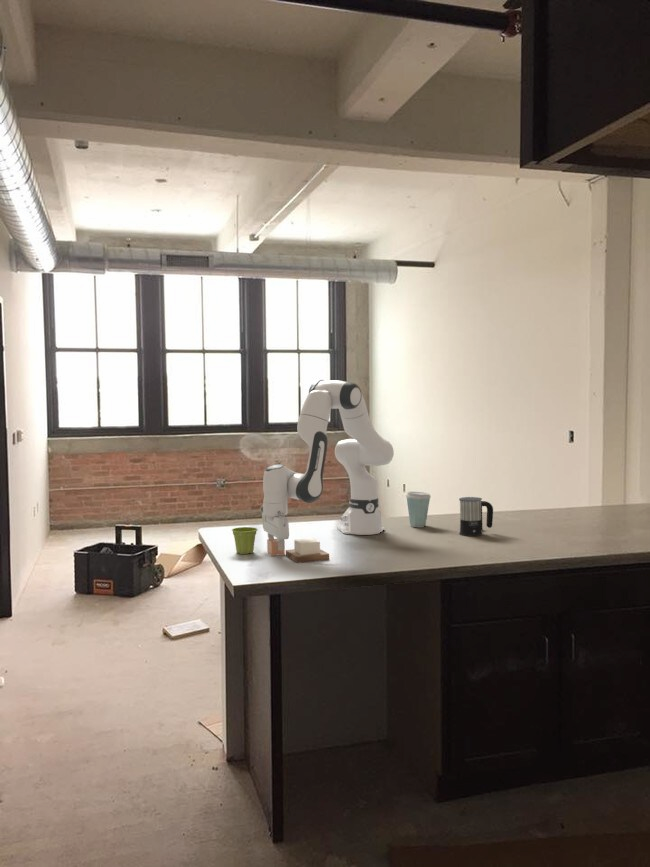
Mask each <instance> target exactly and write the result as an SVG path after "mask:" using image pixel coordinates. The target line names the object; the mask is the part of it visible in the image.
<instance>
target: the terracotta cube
mask: <svg viewBox="0 0 650 867" xmlns="http://www.w3.org/2000/svg"><path fill="white" fill-rule="evenodd" d="M266 542H267V543H266V544H267V545H266V546H267V548H266V549H267V550H266V551H267V552H268V553H267V554H269V555H270V554H271V555H270V556H278V555H277V554H282V555H286V550H285V547H286V546H285V545H286V543H285V540H284V544H283V550H278V549H277V545H278V538H274V539H267V540H266Z"/></svg>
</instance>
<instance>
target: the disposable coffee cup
mask: <svg viewBox="0 0 650 867" xmlns="http://www.w3.org/2000/svg"><path fill="white" fill-rule="evenodd" d="M405 496H406V497H405V498H406V502H407V503H406V504H407V509H408V510H407V511H408V518H409V523H410V526H411V527H412V528H424V526H425V527H426V524H427V519H428V518H427V517H428V514H429V513H428V511H429V507H430V506H429V505H430V501H431V494H430V493H427V492H424V491H407V493H406V495H405Z"/></svg>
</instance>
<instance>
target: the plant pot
mask: <svg viewBox="0 0 650 867" xmlns="http://www.w3.org/2000/svg"><path fill="white" fill-rule="evenodd" d="M231 531H232V535H233V538H234V544H235V551H236V553H237V554H240V555H249V554H253V553H254V548H255V541H256V535H257V531H259V530H258V528H257V527H250V526H242V527H241V526H240V527H234V528H232V529H231Z"/></svg>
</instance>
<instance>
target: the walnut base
mask: <svg viewBox="0 0 650 867" xmlns="http://www.w3.org/2000/svg"><path fill="white" fill-rule="evenodd" d="M285 556H286V557H287V556H288V557H287V558H289V559H290V558H291V559H290V560H292V561H293V560H294V561H293V562H295V563H296V562H297V563H296V564H299V563H298V562H302V563H310V561H311V562H320V561H328V560H330V553H328V552H326V551H324V550H323V549H321V548H320V553H316V554H307V555H300V554H299V553H297V552H295V550H294V549H286V550H285ZM319 560H320V561H319Z"/></svg>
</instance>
